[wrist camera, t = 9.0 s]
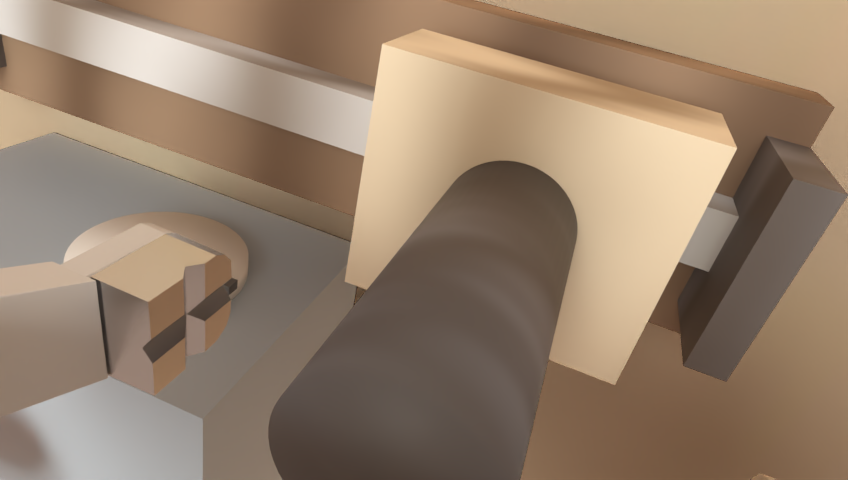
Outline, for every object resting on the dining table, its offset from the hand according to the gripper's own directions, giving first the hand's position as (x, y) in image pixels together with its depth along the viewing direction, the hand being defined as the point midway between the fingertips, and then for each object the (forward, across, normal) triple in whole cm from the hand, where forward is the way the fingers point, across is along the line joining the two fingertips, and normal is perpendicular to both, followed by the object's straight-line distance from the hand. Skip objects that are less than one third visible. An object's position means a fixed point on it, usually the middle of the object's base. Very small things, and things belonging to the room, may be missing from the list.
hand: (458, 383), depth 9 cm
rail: (+10, +8, 0) cm, 13 cm away
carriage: (+8, +1, 0) cm, 8 cm away
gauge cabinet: (+10, +13, +9) cm, 18 cm away
